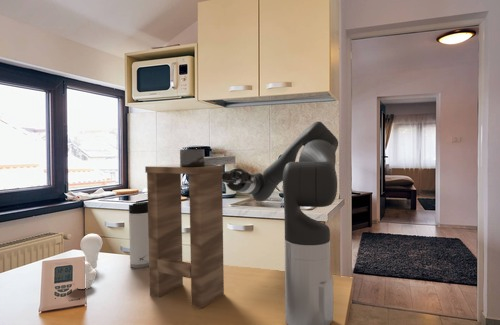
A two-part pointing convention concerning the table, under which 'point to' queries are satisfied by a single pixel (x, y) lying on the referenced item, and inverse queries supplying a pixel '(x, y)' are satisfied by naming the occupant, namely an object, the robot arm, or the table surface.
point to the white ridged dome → (89, 274)
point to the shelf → (201, 231)
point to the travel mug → (139, 235)
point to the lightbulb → (91, 248)
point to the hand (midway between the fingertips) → (219, 173)
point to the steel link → (202, 159)
